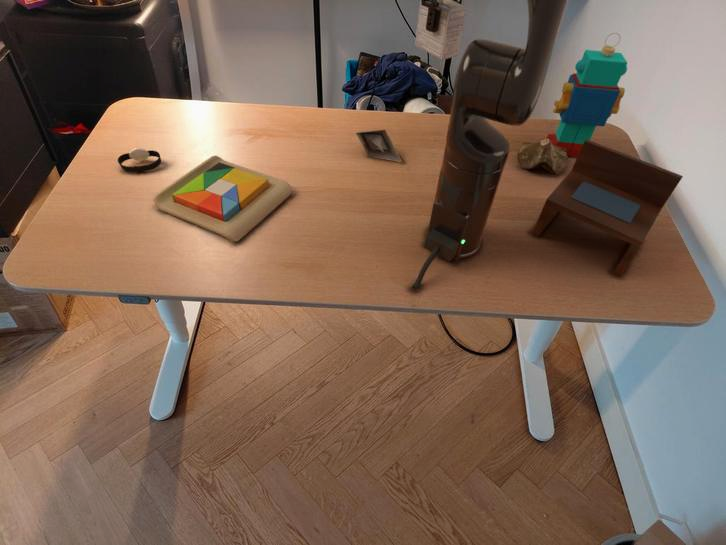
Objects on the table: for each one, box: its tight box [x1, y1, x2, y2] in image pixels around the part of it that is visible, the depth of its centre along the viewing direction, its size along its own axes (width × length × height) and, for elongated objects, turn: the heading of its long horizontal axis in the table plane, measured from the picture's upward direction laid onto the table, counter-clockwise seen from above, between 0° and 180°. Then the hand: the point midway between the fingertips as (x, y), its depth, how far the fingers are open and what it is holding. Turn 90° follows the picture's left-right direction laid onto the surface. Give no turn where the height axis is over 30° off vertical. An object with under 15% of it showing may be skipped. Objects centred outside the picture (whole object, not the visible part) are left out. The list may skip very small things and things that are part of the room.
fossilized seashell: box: [516, 138, 570, 175], centre depth 99 cm, size 8×7×10 cm
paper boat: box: [355, 129, 403, 163], centre depth 98 cm, size 12×6×9 cm
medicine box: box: [414, 0, 467, 61], centre depth 88 cm, size 8×4×9 cm, turn 36°
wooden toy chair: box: [532, 139, 684, 277], centre depth 81 cm, size 12×16×14 cm
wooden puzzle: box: [153, 155, 292, 242], centre depth 87 cm, size 17×19×4 cm
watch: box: [117, 147, 162, 174], centre depth 92 cm, size 8×5×4 cm, turn 108°
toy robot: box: [546, 32, 628, 158], centre depth 96 cm, size 12×6×25 cm, turn 84°
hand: (439, 26), depth 88 cm, fingers closed on medicine box, 5 cm apart
